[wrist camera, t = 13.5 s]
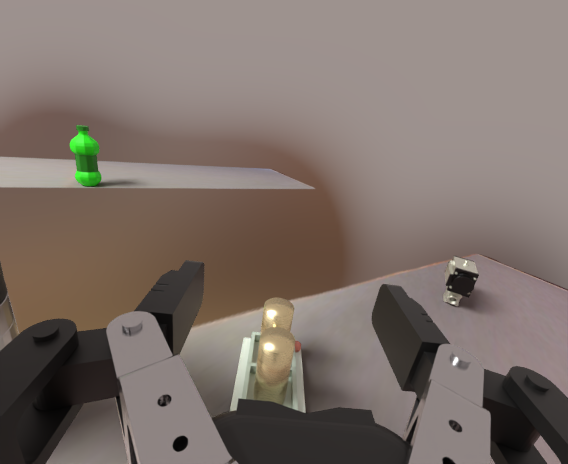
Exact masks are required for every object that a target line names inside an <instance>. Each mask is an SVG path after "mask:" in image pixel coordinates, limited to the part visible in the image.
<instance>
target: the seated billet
mask: <svg viewBox="0 0 568 464" xmlns="http://www.w3.org/2000/svg"><path fill="white" fill-rule="evenodd" d="M293 313H294V306H293V304H292V303H291V302H290V301H288V300H286V299H283V298H271V299H269V300H267V301H266V302H265V304H264V311H263V318H262V326H261V333H262V332H263V331H264V330H266V329H268V328H271V327H281V328H284V329H286V330H288V331H290V330H291V324H292V318H293ZM260 335H261V334H260Z"/></svg>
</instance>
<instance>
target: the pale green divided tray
mask: <svg viewBox="0 0 568 464" xmlns="http://www.w3.org/2000/svg"><path fill="white" fill-rule="evenodd" d="M260 334H261V333H259V332H252V335H251V338H244V339H243V345H242V350H241V355H240V360H239V365H238V371H237V376H236V381H235V386H234V391H233V397H232V402H231V407H230V411H234V410H237V404H238V398H240V399H251V400H254V397H253V392H254V384H255V375H256V366H257V358H258V349H259V341H260ZM294 338H295V336H294ZM283 405H284V406H286V407H289V408H292V409H295V410H298V411H301V412H304V413H306V412H305V398H304V384H303V370H302V357H301V344H300V342H298V341H295V347H294V352H293V358H292V363H291V369H290V375H289V380H288V386H287V391H286V397H285V401H284V403H283Z"/></svg>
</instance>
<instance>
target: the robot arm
mask: <svg viewBox="0 0 568 464" xmlns="http://www.w3.org/2000/svg"><path fill="white" fill-rule="evenodd" d="M203 290H204V263H203V262H195V261H187V260H186V261H185V262H184V264H183V265H182V266H181V268H180V269H179V271H175V270H171V271H169V272H168V273H166V274H164V275H162V276H161V277H160V279H159V280H158V281H157V282H156V285H154V286H153V288H152V289H151V291H149V293H148V294H147V295H146V297H145V298H144V299H143V300H142V302H141V303H140V304H139V305H138V307H137V308H136V309H135V311H134V312H129V313H126V314H123V315H120V316H119V317H117V318H115V319H114V320H113V321H111V323H110V324H109V325H108V327H107V328H103V329H96V330H87V331H79V332H77V328H76V325H75V323H74V322H73V321H71V320H68V319H52V320H47V321H43V322H40V323H37V324H35V325H33V326H31V327H29V328H27V329H26V330H24V331H23V332H21V333H20V334H19V332H18V328H17V324H16V321H15V317H14V314H13V310H12V307H11V303H10V300H9V296H8V292H7V288H6V284H5V281H4V277H3V272H2V267H1V263H0V464H45V463H46V462H47V460H48V459H49V457H50V456H51V454H52V452H53V451H54V449H55V448H56V446H57V445H58V443H59V441H60V440H61V438H62V437H63V435H64V434H65V432H66V430H67V429H68V427H69V426H70V424H71V423H72V421H73V419H74V418H75V416H76V415H77V413H78V412H79V410H80V408H81V407H82V405H83V404H84V403H87V402H92V401H97V400H102V399H107V398H112V397H115V401H116V406H117V411H118V415H119V420H120V425H121V429H122V434H123V439H124V443H125V448H126V454H127V460H128V464H490V455H491V457H492V459H493V461H494V462H495V464H547V463H546V461H545V460H544V459H543V457H542V456H541V454H540V453H539V452H538V450H537V449H536V448H535V446H534V443H535V442H536V441H537V439H538V438H539V437H540V435H541V436H542V437H543V439H544V440H545V441H546V443H547V444H548V445H549V446H550V448H551V449H552V450H553V452H554V453H555V454H556V455H557V457H558V458H559V460H560V462H561V464H568V398H567V397H566V396H565V395H564V394H563V393H562V392H561V391H560V390H559V389H558V388H557V387H556V386H555V385H554V384H553V383H552V382H551V381H549V380H548V379H546V378H545V377H543V376H542V375H540V374H538V373H536V372H534V371H532V370H530V369H527V368H524V367H518V366H515V367H512V368H511V369H510V370H509V372H508V374H507V375H506V376H504V375H501V374H498V373H495V372H492V371H489V370H486V369H484V368H483V366H482V364H481V363H480V361H479V360H478V359H477V358H476V357H475V356H474V355H472V354H471V353H470V352H468V351H467V350H465V349H463V348H461V347H458V346H456V345H452V344H450V343H449V342H448V340H447V339H446V338H445V336H444V335H443V334H442V332H441V331H440V330H439V328H438V327H437V326H436V324H435V323H433V321H432V319H431V318H430V317H429V316H428V314H427V313H426V311H425V310H424V309H423V307H422V306H421V305H419V304H418V303H417V302H416V301H414V300H413V299H412V298H409V297H408V295H407V294H406V293H405V291H404V290H403V288H402V287H401V286H396V285H388V284H383V285H382V286H381V287H380V290H379V293H378V296H377V299H376V302H375V306H374V309H373V312H372V324H373V327H374V329H375V332H376V334H377V336H378V338H379V341H380V343H381V345H382V347H383V349H384V352H385V354H386V356H387V358H388V361H389V363H390V365H391V367H392V369H393V372H394V374H395V376H396V378H397V381H398V383H399V385H400V387H401V389H402V391H412V392H415V393H416V395H417V396H416V399H415V401H414V403H413V407H412V410H411V413H410V416H409V419H408V422H407V425H406V428H405V431H404V434H403V438H401V437H400V436H398V435H397V434H395V433H394V432H392V431H390V430H389V429H387V428H385V427H383V426H381V425H379V424H376V423H375V421H374V418H373V415H372V411H371V410H362V409H351V408H340V407H339V408H334V409H328V410H323V411H317V412H312V413H304V412H301V411H298V410H295V409H292V408H289V407H286V406H284V405H281V404H278V403H275V402H272V401H262V400H251V399H240V398H238V404H237V410H234V411H229V412H226V413H223V414H220V415H218V416H216V417H214V418H212V419H211V417H210V415H209V413H208V411H207V409H206V407H205V404H204V402H203V400H202V398H201V396H200V394H199V392H198V390H197V388H196V386H195V384H194V382H193V380H192V378H191V376H190V374H189V372H188V370H187V368H186V366H185V364H184V362H183V360H182V358H181V356H180V355H179V354H180V352H181V350H182V347H183V345H184V343H185V341H186V338H187V336H188V334H189V332H190V329H191V327H192V325H193V323H194V320H195V318H196V316H197V313H198V311H199V309H200V307H201V303H202V299H203Z"/></svg>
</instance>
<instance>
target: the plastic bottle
mask: <svg viewBox="0 0 568 464" xmlns="http://www.w3.org/2000/svg"><path fill="white" fill-rule="evenodd" d="M76 127H77V130H78V131H79V134H78V135H77V136H76V137H74V138H73V139H72V140H71V142H70V148H71V151H72V152H73V153H75V159H76V166H77V171H76V174H75V178H76V180H77V181H78V182H79V183H80V184H82V185H83V186H96V185H97V184H98V183H99V182H100V181H101V174H100V172H99V171H98V165H97V156H96V155H97V154H98V153H99V145H98V143H97V142H96V141H95V140H94V139H93V138H91V137H90V136H88V132H87V131H89V128H88V126H80V125H76Z"/></svg>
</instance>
